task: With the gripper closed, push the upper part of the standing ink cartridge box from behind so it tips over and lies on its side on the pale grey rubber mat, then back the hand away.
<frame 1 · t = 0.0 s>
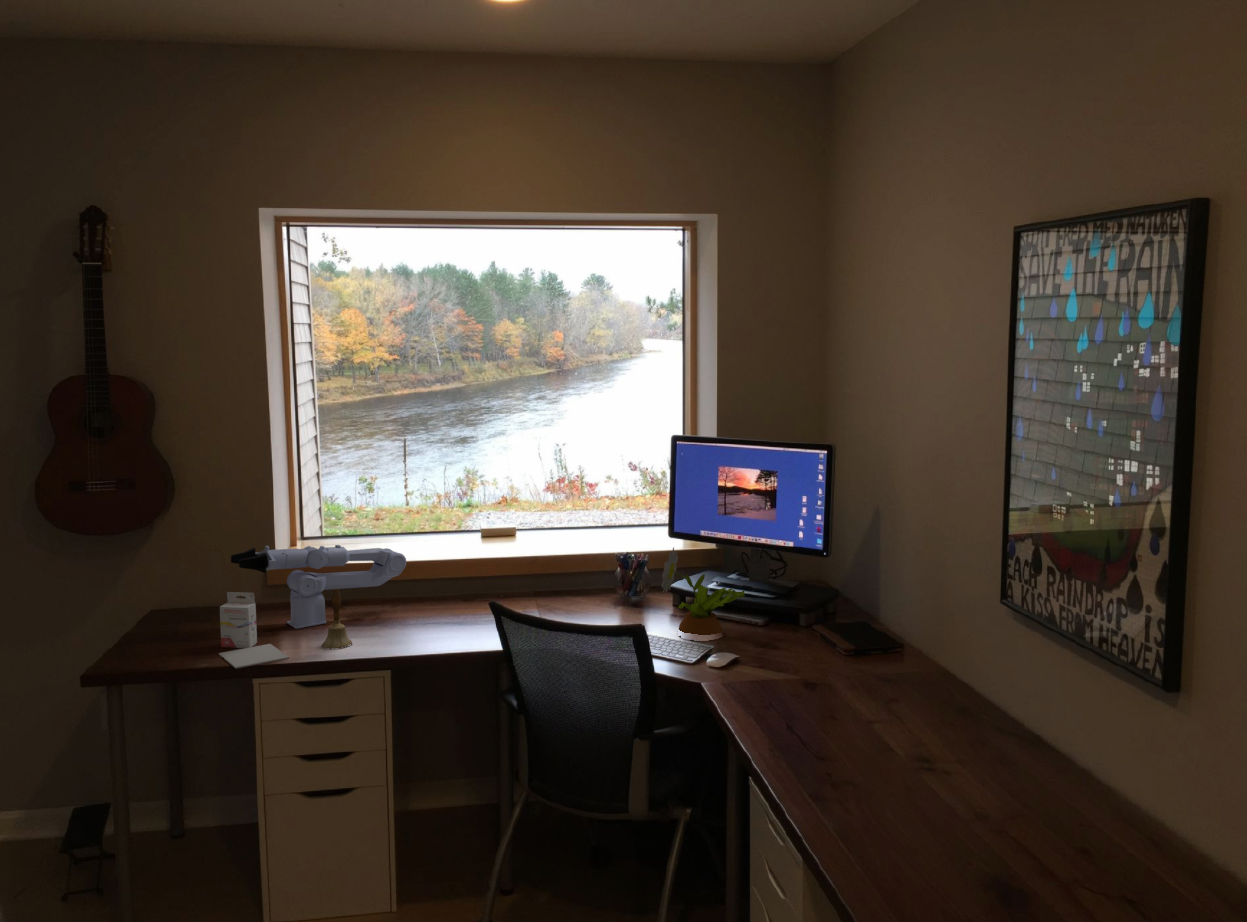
hand: (235, 561, 300), 22 cm above the table, tool horizontal, fingers open, 7 cm apart
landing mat: (253, 656, 283), on the table
ink cartridge box: (239, 646, 293), on the table
decorative plant: (702, 637, 300), on the table
hand bell: (337, 645, 293), on the table
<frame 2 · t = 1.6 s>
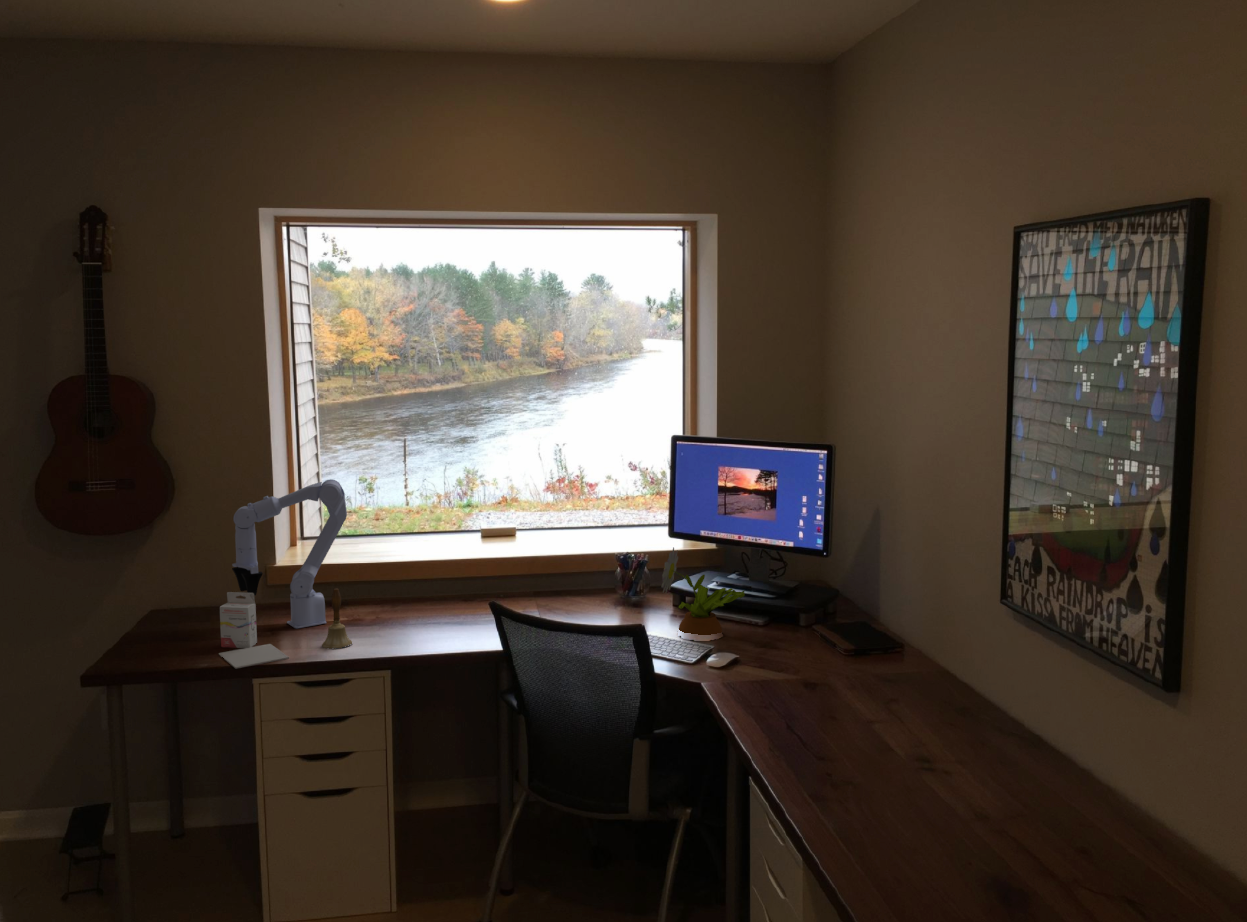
hand: (248, 593, 309), 10 cm above the table, tool pointing down, fingers open, 7 cm apart
nothing on the table moved.
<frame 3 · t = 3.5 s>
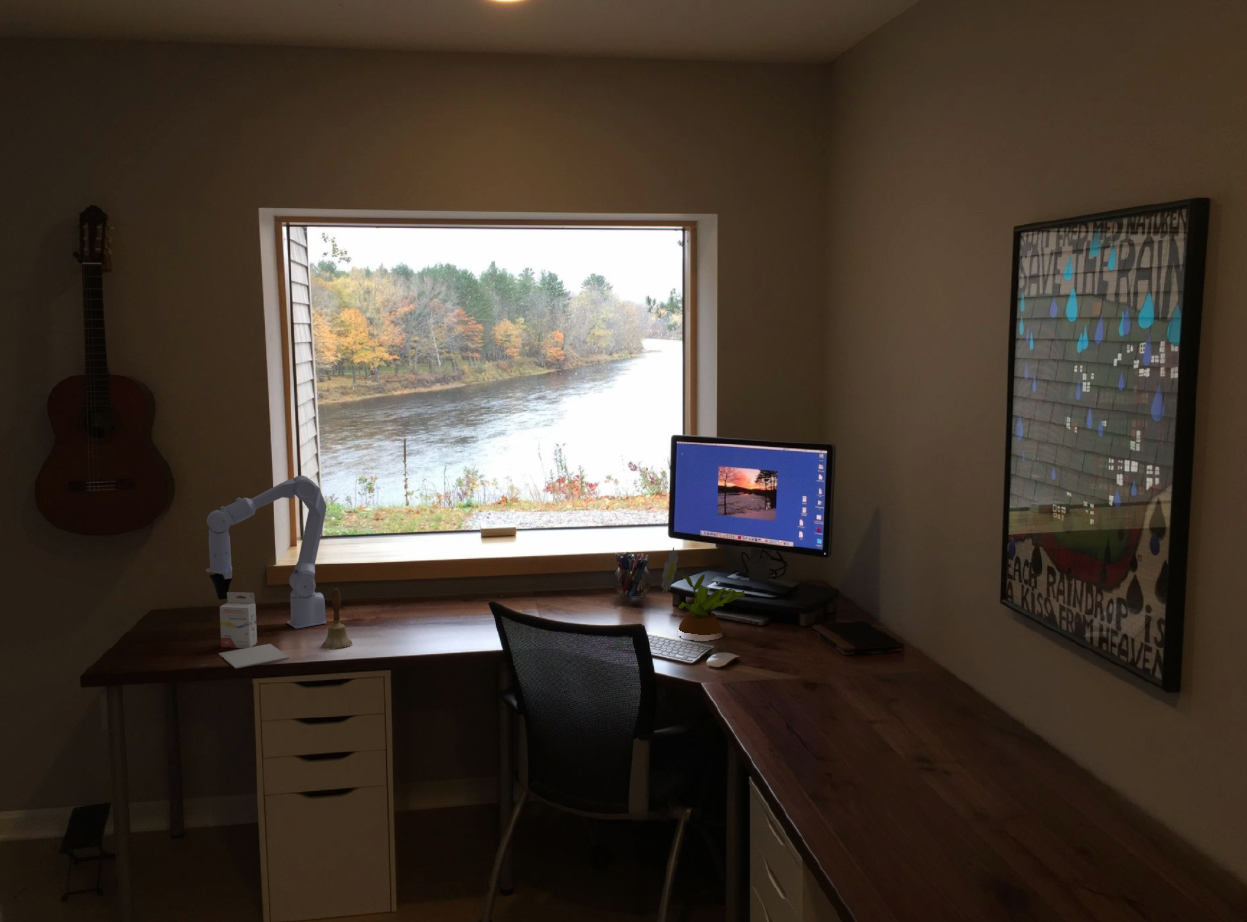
hand: (222, 598, 303), 10 cm above the table, tool pointing down, fingers closed
nothing on the table moved.
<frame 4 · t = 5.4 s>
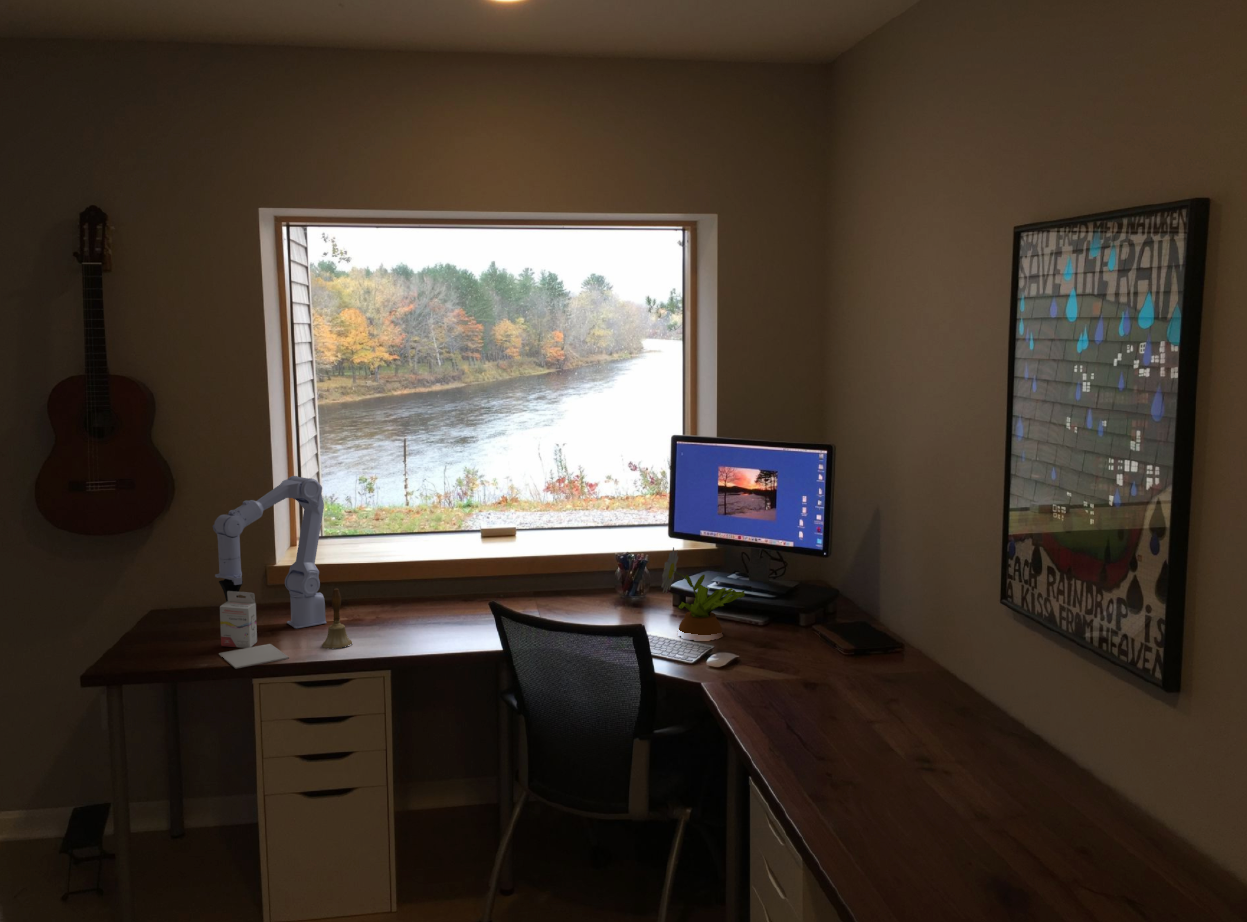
hand: (231, 605, 295), 11 cm above the table, tool pointing down, fingers closed
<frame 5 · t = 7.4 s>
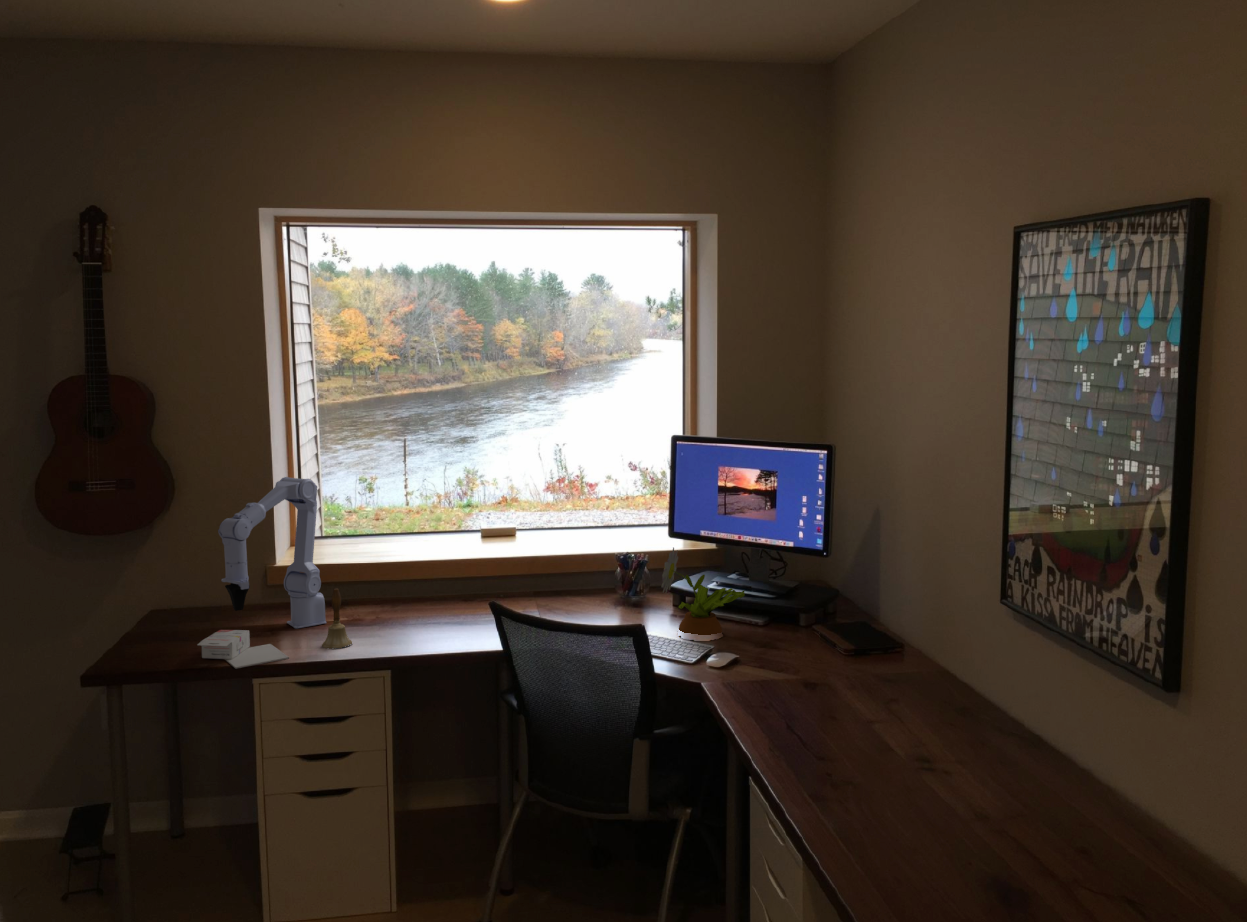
hand: (238, 609, 291), 10 cm above the table, tool pointing down, fingers closed
ink cartridge box: (235, 638, 291), point 3 cm above the table, touching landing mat
everything else where it was.
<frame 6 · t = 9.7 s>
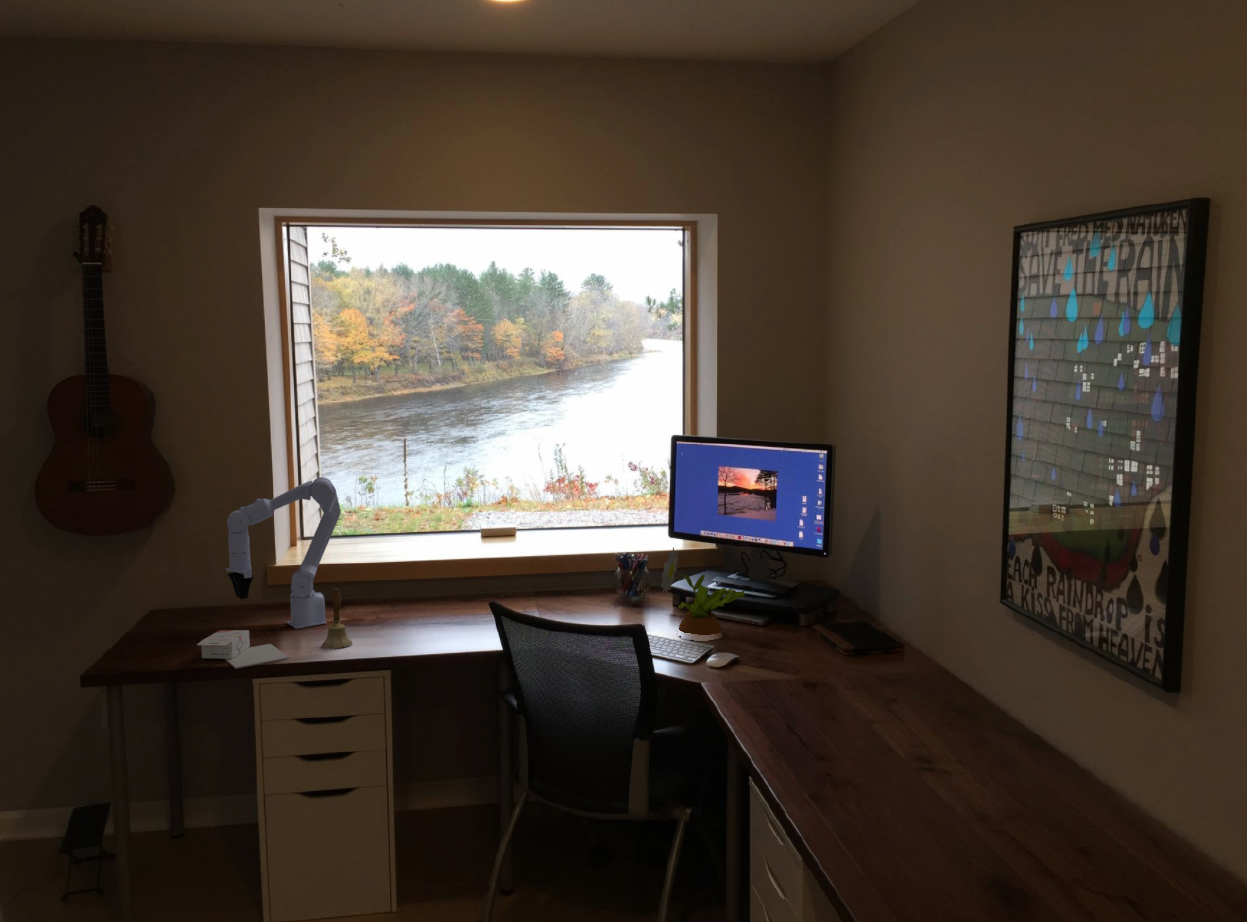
hand: (241, 597, 308), 9 cm above the table, tool pointing down, fingers open, 3 cm apart
nothing on the table moved.
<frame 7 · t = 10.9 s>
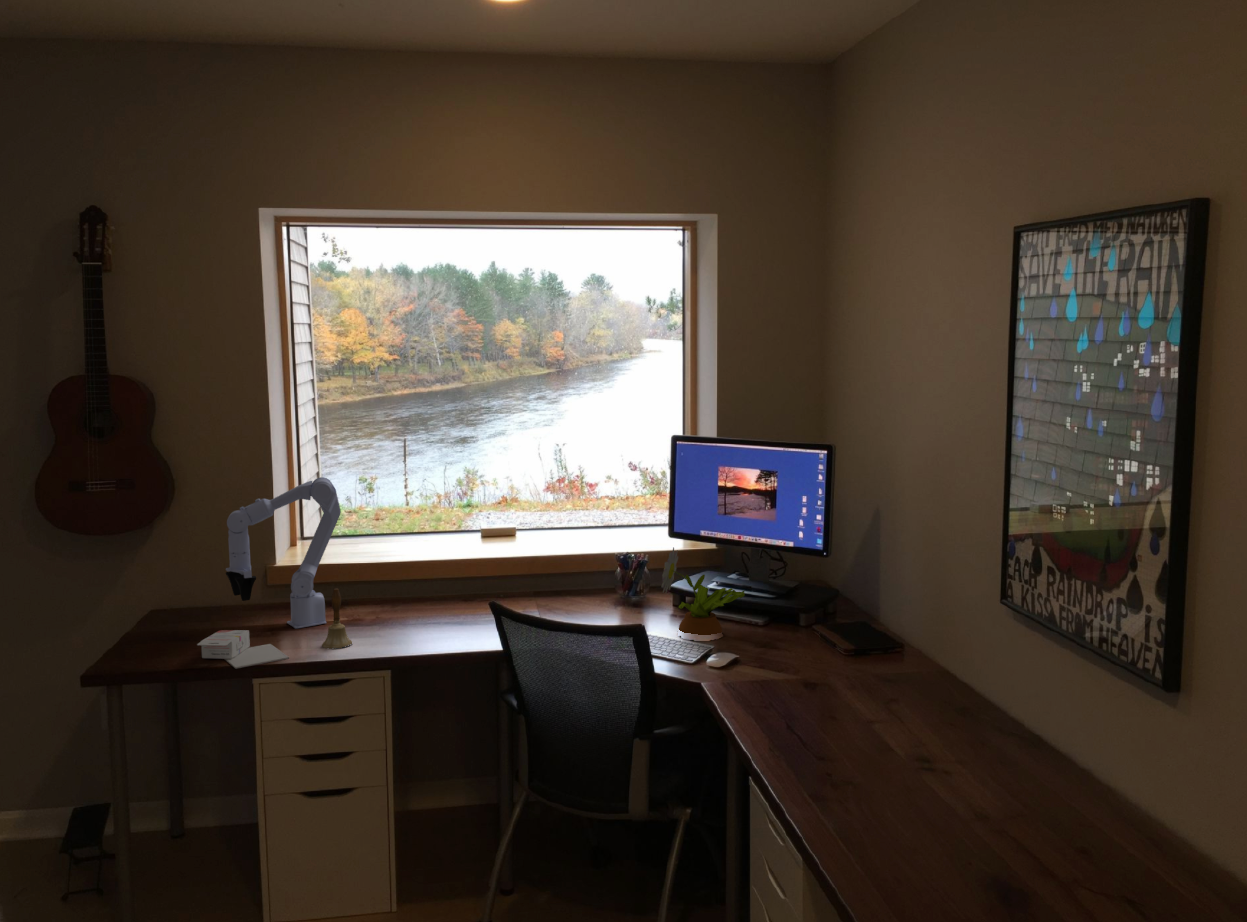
hand: (241, 597, 308), 9 cm above the table, tool pointing down, fingers open, 7 cm apart
nothing on the table moved.
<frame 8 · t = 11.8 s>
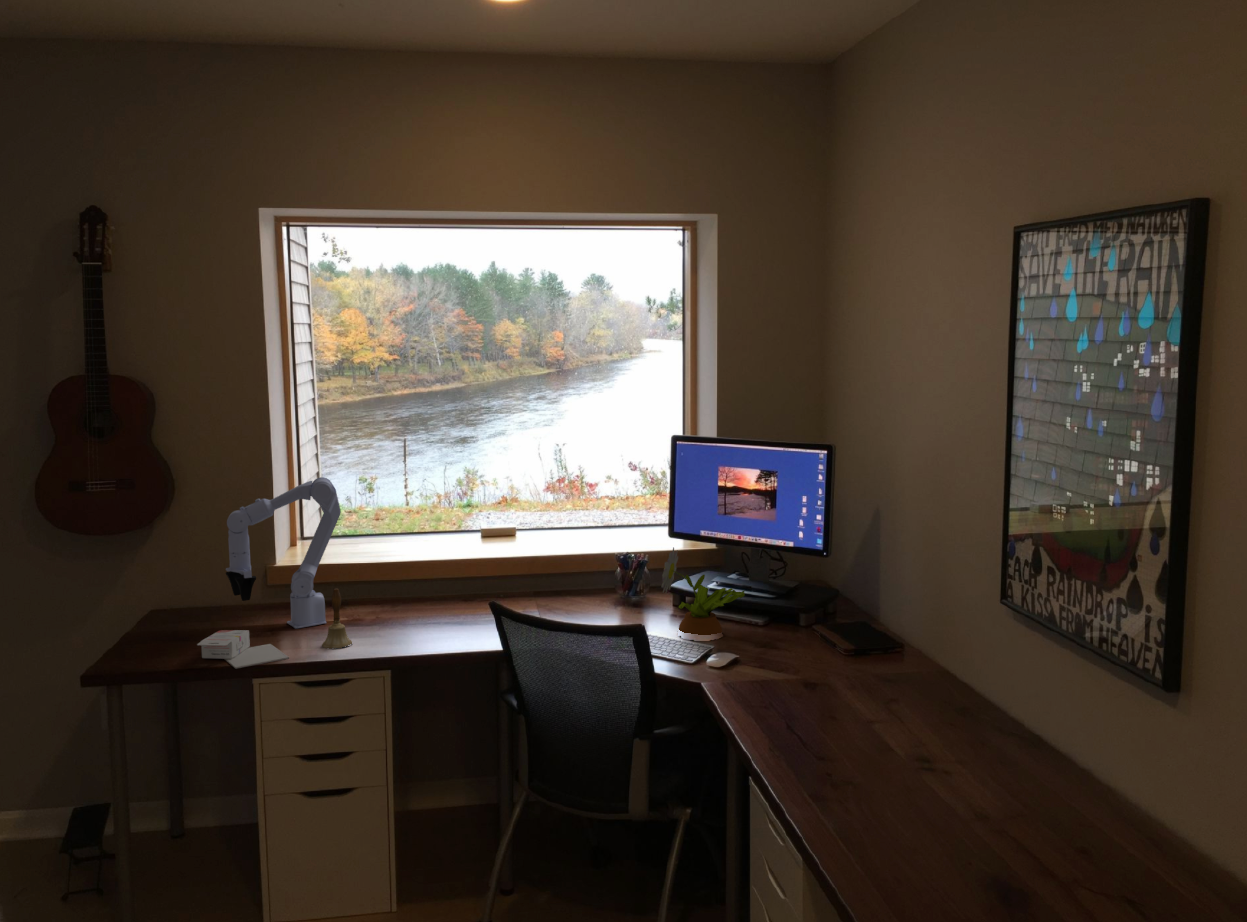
hand: (241, 597, 308), 9 cm above the table, tool pointing down, fingers open, 7 cm apart
nothing on the table moved.
at the end: ink cartridge box tilted 88°; ink cartridge box touching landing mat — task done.
